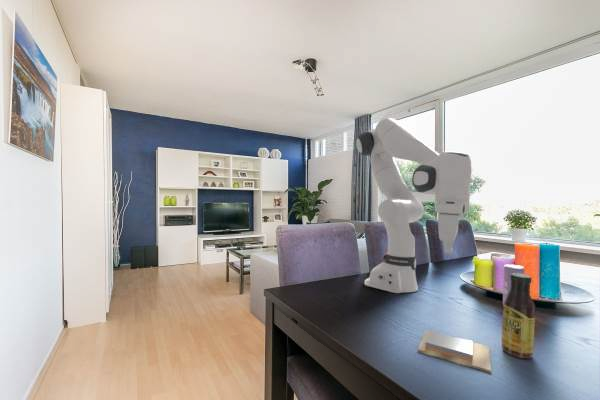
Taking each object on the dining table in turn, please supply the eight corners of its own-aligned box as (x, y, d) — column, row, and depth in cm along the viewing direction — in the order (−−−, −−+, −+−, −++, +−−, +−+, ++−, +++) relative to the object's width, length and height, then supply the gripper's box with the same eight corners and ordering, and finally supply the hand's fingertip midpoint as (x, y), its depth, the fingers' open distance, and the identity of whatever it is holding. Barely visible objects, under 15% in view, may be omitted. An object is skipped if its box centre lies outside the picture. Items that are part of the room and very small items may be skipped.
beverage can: (527, 311, 94) (528, 268, 94) (508, 310, 96) (509, 267, 96) (517, 305, 100) (518, 264, 100) (499, 303, 101) (500, 263, 101)
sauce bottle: (495, 346, 71) (496, 270, 71) (517, 346, 72) (518, 270, 72) (517, 361, 65) (518, 278, 65) (541, 360, 65) (543, 277, 65)
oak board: (418, 351, 68) (418, 349, 68) (425, 332, 78) (425, 330, 78) (491, 373, 60) (491, 370, 60) (488, 348, 70) (488, 346, 70)
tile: (429, 336, 75) (425, 348, 69) (429, 330, 75) (425, 342, 69) (472, 347, 70) (472, 361, 63) (472, 341, 70) (472, 355, 63)
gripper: (442, 204, 91) (439, 245, 92) (435, 206, 74) (432, 257, 74) (464, 205, 88) (461, 248, 88) (462, 208, 70) (458, 261, 71)
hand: (448, 252), depth 81 cm, fingers closed
